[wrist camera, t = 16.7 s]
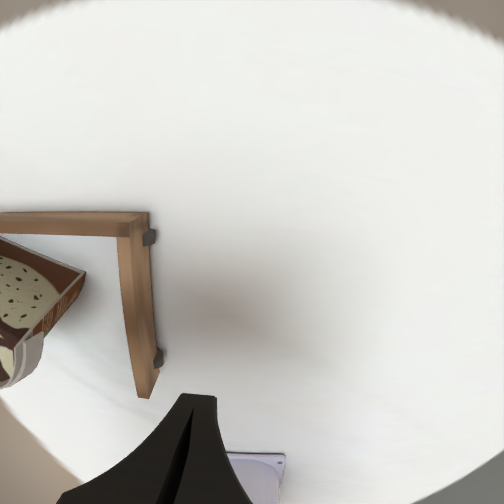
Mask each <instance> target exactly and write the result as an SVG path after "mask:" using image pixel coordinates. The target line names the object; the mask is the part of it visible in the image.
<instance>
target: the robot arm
mask: <svg viewBox="0 0 504 504" xmlns="http://www.w3.org/2000/svg"><path fill="white" fill-rule="evenodd" d="M285 462H286V456H285V455H261V454H232V453H226V450H225V447H224V444H223V441H222V438H221V434H220V430H219V426H218V421H217V398H216V397H215V396H209V395H198V394H187V393H182V394H181V395H180V396H179V397H178V399H177V401H176V402H175V404H174V405H173V407H172V408H171V409H170V411H169V412H168V413H167V415H166V416H165V417H164V419H163V420H162V421H161V422H160V424H159V425H158V426H157V427H156V428H155V430H154V431H153V432H152V433H151V434H150V435H149V436H148V437H147V438H146V439H145V440H144V441H143V442H142V443H141V444H140V445H139V446H138V447H137V448H136V449H135V450H134V451H133V452H132V453H130V454H129V455H128V456H127V457H126V458H124V459H123V460H122V461H120V462H119V463H118V464H116V465H115V466H114V467H112V468H111V469H109V470H108V471H106V472H104V473H103V474H101V475H99V476H98V477H96V478H94V479H92V480H91V481H89V482H87V483H85V484H83V485H80V486H78V487H76V488H74V489H72V490H69V491H67V492H64V493H63V494H62V495H61V497H60V498H59V500H58V501H57V503H56V504H280V498H279V488H280V484H281V479H282V475H283V471H284V466H285Z"/></svg>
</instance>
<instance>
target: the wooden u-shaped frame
mask: <svg viewBox="0 0 504 504" xmlns="http://www.w3.org/2000/svg"><path fill="white" fill-rule="evenodd" d="M0 233H13V234H47V235H79V236H108V237H117V252H118V265H119V277H120V287H121V296H122V305H123V313H124V320H125V327H126V334H127V341H128V347H129V353H130V359H131V365H132V370H133V375H134V380H135V385H136V390H137V395H138V397H139V398H145V399H149V397H150V395H151V392H152V390H153V387H154V385H155V382H156V380H157V377H158V375H159V372H160V371H159V367H161V366H162V365H163V363H164V360H163V353H162V351H161V350H159V349H157V347H156V338H155V328H154V318H153V307H152V294H151V280H150V263H149V245H152V244H154V243H155V231H154V230H152V229H148V213H146V212H24V213H0Z"/></svg>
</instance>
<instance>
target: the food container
mask: <svg viewBox="0 0 504 504" xmlns="http://www.w3.org/2000/svg"><path fill="white" fill-rule="evenodd" d="M85 274H86V272H84V271H82V270H79V269H77V268H74V267H72V266H69V265H67V264H64V263H62V262H59V261H57V260H54V259H52V258H49V257H47V256H45V255H42V254H40V253H37V252H35V251H33V250H30V249H28V248H26V247H23V246H21V245H19V244H17V243H14V242H12V241H10V240H8V239H5V238H3V237H1V236H0V389H3V388H6V387H11V386H12V385H14V384H15V383H17V382H18V381H20V380H22V379H23V378H25V377H26V376H28V375H29V374H31V373H32V372H33V371H34V369H35V368H36V367H37V365H38V363H39V361H40V358H41V354H42V349H43V341H44V338H45V336H46V335H47V334H48V333H49V331H50V330H51V329H52V328H53V326H54V325H55V324H56V322H57V321H58V320H59V319H60V318H61V316H62V315H63V314H64V313H65V311H66V310H67V309H68V308H69V307H70V305H71V304H72V303H73V302H74V301H75V299H76V298H77V297H78V295H79V293H80V291H81V289H82V286H83V283H84V279H85Z"/></svg>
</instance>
